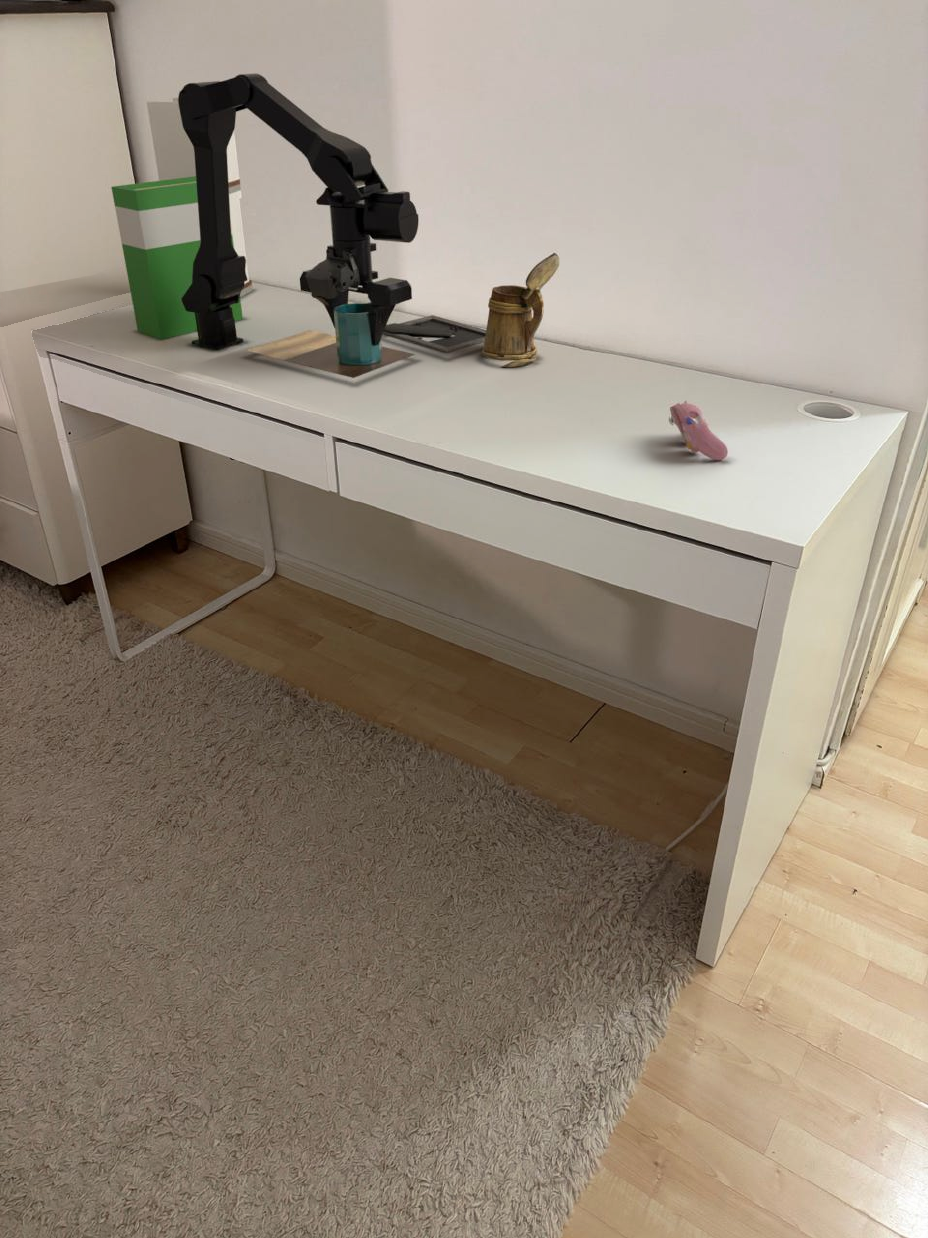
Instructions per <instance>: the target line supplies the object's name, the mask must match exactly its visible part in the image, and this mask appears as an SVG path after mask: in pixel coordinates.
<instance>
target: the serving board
mask: <svg viewBox="0 0 928 1238" xmlns="http://www.w3.org/2000/svg"><path fill="white" fill-rule="evenodd" d="M381 348H382V355H381V360H380V361H379V362H376V363H373V364H369V365H346V364H343V363H341V362H339V360H338V356H337V345H336V335H332V334H329V333H323V332H320V331H315V330H311V329H309V330H305V331H303V332H300V333H297V334H296V333H295V334H293V335H290V336H287V337H284V338H281V339H278V340H274V341H272V342H268V343H265V344H262V345H259V346H256V347H252V348H249V349H246V350H245V351H246V352H250V353H253V354H258V355H262V356H265V357H270V358H273V359H278V360H282V361H285V362H289V363H292V364H297V365H301V366H305V367H308V368H313V369H316V370H321V371H325V372H327V373H331V374H336V375H340V376H344V377H348V378H351V379H355V378H358V377H361V376H363V375H366V374H368V373H370V372H374V371H376V370H378V369H381V368H383V367H386V366H389V365H391V364H394V363H397V362H400V361H401V360H404V359H407V358H410V357H412V356H415V355H416V353H412V352H408V351H403V350H399V349H395V348H390V347H387V346H382V345H381Z"/></svg>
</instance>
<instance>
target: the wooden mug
mask: <svg viewBox="0 0 928 1238" xmlns="http://www.w3.org/2000/svg"><path fill="white" fill-rule="evenodd" d="M559 266H560V257H559V255H558V254H557V253H556V252H553V253H551V254H550V255H549V256H547V257H545V258H544V259H542V260H541V261H540V262H538V263H537V264H536V265H535V266H534V267H533V268H532V269H531V270H530V272H529V273H528V275H527V276H526V279H525V286H520V285H515V284H513V285H498V286H493V287H492V289H491V290H492V291H491V295H490V297H489V299H488V304H487V307H488V309H489V311H488V317H487V323H486V329H485V330H486V336H485V342H484V343H483V347H482V350H481V353H482V355H483V356H484V357H486V358H489V359H493V360H498V361H510V362H508V363H506V364H503V365H501V367H502V368H517V367H519V368H520V367H525V366H528V365H530V364H533V363H534V362H535V361H536V360H537V358H538V357H537V356H538V348H537V346H535V339H534V336H535V334H536V332H537V330H538V329H539V327H540V325H541V323H542V320H543V317H544V310H545V309H544V305H545V304H544V299H543V295H542V291H541V290H542V288H543V287H544V286H545V285H546V284H547V283H548V282H549V281H550V280H551V279H552V278H553V276H554V275H555V273H557V270H558V269H559Z"/></svg>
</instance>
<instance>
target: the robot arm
mask: <svg viewBox="0 0 928 1238" xmlns="http://www.w3.org/2000/svg"><path fill="white" fill-rule="evenodd" d="M177 98H178V104H179V110H180V115H181V120H182V125H183V129H184V130H185V132H186V134H187V136H188V138H189V139H190V141H191V143H192V145H193V147H194V156H195V170H196V184H197V198H198V213H199V227H200V247H199V249H198V252H197V254H196V257H195V259H194V262H193V273H192V284H191V286H190V287H189V288H188V290H187V291H186V293H185V294H184V296H183V297H182V299H181V300H182V303H183V305H184V307H185V310H186V311H187V312H194V313H195V319H196V326H197V331H196V333H197V339H193V340H191V344H192V345H194V346H198V347H200V348H204V349H205V348H206V349H208V350H209V349H210V350H212V351H218V350H222V349H225V348H228V347H232V346H234V345H238V344H242V343H244V338H242V337H238V335H237V329H236V328H237V326H236V321H235V319H234V317H233V311H232V308H231V307H230V305H233V304H237V303H239V299H240V300H241V297H240V293H241V291H242V290H243V288H244V283H245V281H247V280H248V279H247V276H246V271H245V266H246V259H247V258H246V259H245V256H238V254H237V253H236V251H235V249H234V247H233V246H232V241H231V222H230V203H229V184H228V165H227V146H228V144H229V141H230V139H231V136H232V134H233V131H234V132H235V128H236V118H237V113H238V112H241V111H244V110H248V111H250V112H251V113H252V114H254V116H255V117H257V118H259V120H260V121H262V122H263V123H265V124H266V125H267V126H268V127H269V128H271V129H272V130H273V131H274V132H276V133H277V134H278V135H279V136H280V137H282V138H283V139H284V140H285V141H287V142H288V143H289V144H290V145H292V147H294V148H296V150H298V151H299V152H300V153H301V154H302V155H303V156H304V157H305V158H306V160H307V161H308V162H307V163H308V164H309V166H310V168H311V170H312V172H313V173H314V175H316V176H317V178H318V179H319V180H320V181H321V182H322V183H323V184H324V185H325V186H326V187H325V189H324V191H323V192H322V194H321V195H320V196H319V197H318V198H317V199H316V201H315V203H316V205H319V206H329V216H330V227H331V239H332V244H331V245H327V246H326V249H325V250H326V251H325V252H326V257H325V259H324V260H323V261H321V262H318V263H317V264H316V265H315V266H314V267H312V268H310V269H307V270H303V271H302V273H301V275H300V277H299V288H300V291H301V292H306V293H310V296H311V297H312V298H313V299H316V300H317V301H318V302H320V303H321V304H322V306H324V308H325V310H326V312H327V314H328V316H329V319H330V321H331V324H332V325H333V328H334V329H335V320H334V309H335V308H336V307H337V306H340V305H343V304H349V292H353V293H358V294H363V295H367V298H368V300H369V302H365V303H366V304H363V306H364V307H365V309H366V310H367V311H368V313H369V319H370V330H371V339H372V344H373V346H376V345H378V344H379V342H380V340H381V341H382V337H383V335H384V334H383V332H384V329H385V327H386V325H388V322H389V319H390V317H391V315H392V314H393V311H394V310H395V307H396V305H399V304H401V303H404V302H407V301H410V300H412V299H413V294H412V293H413V291H412V285H411V284H410V282H409V281H408V279H401V278H395V277H387V278H384V279H380V280H377V279H379V272H378V271H376V270H373V261H372V252H376V251H377V243H376V242H371V239H372V240H373V241H381V242H382V241H384V242H395V243H405V244H406V243H408V244H410V243H412V242H413V241H414V239H416V236H417V234H418V229H419V213H417V209H416V206H415V204H414V202H413V201H411V193H410V192H409V191H403V190H401V191H397V192H396V191H389V188H388V187H387V185H386V184H385V182H384V180H383V179H382V178H381V176H380V174H379V173H378V171H377V170H376V168H375V166H374V165H373V162H372V155H371V154H370V151H369V150H368V149H367V148H366V147H365V146H363V145H362V144H360V143H359V142H356V141H355V140H352V139H351V138H349V137H347V136H345V135H342V134H339V133H336V132H333V131H331V130H329V129H327V128H325V127H323V126H322V125H321V124H320V123H319V122H317V121H316V120H315V119H313V118H312V117H311V116H310V115H309V114H307V113H306V112H305V111H303V109H301V108H300V107H298V106H297V105H296V104H295V103H294V102H293V101H291V100H290V99H289V98H288V97H286V96H285V95H284V94H282V93H281V92H280V91H279V90H277V88H275V86H273V85H272V84H271V83H269V82H268V80H267V79H266V77H264V76H263V75H262V74H260V73H256V72H255V73H241V74H237V75H235V76H234V77H232V78H228V79H226V80H221V81H220V80H216V81H215V80H214V81H201V82H189V83H187V84H185V85H184V86H183V87H182V88H181V90H180V91H179V93H178V96H177ZM373 280H377V281H373Z"/></svg>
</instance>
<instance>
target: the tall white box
mask: <svg viewBox="0 0 928 1238" xmlns="http://www.w3.org/2000/svg"><path fill="white" fill-rule="evenodd" d="M146 108H147V112H148V119H149V126H150V132H151V137H152V145H153V150H154V156H155V164H156V171H157V175H158V181H161V180H170V179H178V178H186V177H194V176H196V170H195V156H194V147H193V145H192V143H191V141H190V139H189V138H188V136H187V134H186V132H185V130H184V129H183V125H182V120H181V115H180V110H179V104H178V97H172V101H157V100H156V101H155V100H153V101H152V100H149V101H148V100H147V101H146ZM238 161H239V160H238V151H237V145H236V136H235V130H234V131H233V134H232V136H231V139H230V141H229V144H228V146H227V165H228V184H229V203H230V220H231V228H232V236H233V244H234V249H235V251H236V253H237V254H238V256H245V259H246V266H245V271H246V276H247V279H248V280H247V281H245V283H244V288H243V290H242V291H241V293H240V298H242V297H243V296H246V295H247V294H249V293H250V292H253V290H254V289H253V281H252V279H250V278H249V269H248V260H247V252H246V243H245V235H244V228H243V218H242V217H243V216H242V211H241V210H242V209H241V208H242V207H241V200H240V199H242V198H243V195H242V187H241V177H240V171H239V169H240V168H239V162H238Z"/></svg>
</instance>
